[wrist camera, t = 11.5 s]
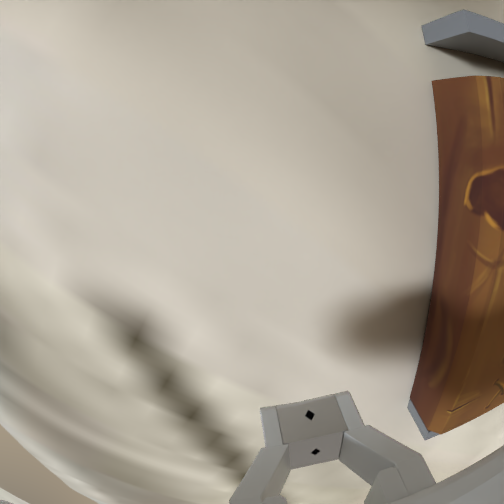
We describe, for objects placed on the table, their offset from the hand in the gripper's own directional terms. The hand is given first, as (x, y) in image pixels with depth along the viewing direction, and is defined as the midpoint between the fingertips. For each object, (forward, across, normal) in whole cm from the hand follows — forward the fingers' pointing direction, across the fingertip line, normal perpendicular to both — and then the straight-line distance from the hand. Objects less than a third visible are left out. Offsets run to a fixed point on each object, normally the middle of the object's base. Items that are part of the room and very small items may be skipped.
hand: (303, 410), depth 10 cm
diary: (+8, -20, 0) cm, 21 cm away
